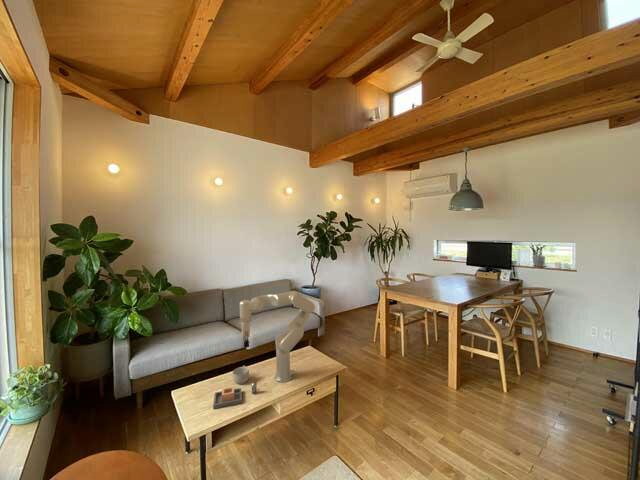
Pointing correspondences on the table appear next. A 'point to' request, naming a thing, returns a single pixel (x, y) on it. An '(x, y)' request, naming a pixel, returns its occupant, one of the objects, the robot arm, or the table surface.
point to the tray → (220, 404)
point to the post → (254, 387)
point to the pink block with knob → (227, 394)
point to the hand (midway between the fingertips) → (246, 344)
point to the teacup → (241, 375)
